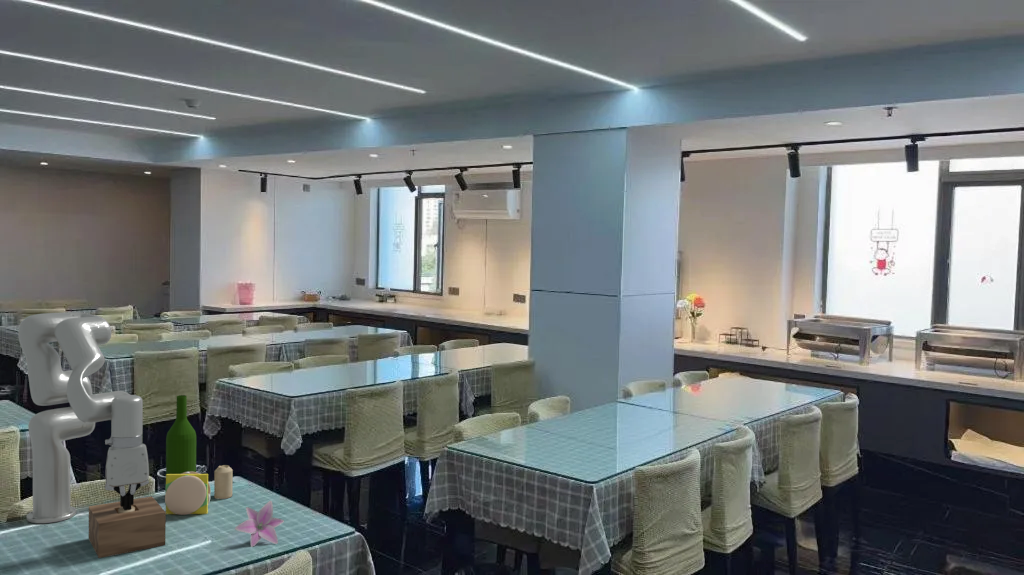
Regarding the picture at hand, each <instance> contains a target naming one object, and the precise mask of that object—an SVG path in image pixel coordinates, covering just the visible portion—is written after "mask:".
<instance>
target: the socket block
mask: <svg viewBox="0 0 1024 575" xmlns="http://www.w3.org/2000/svg"><path fill="white" fill-rule="evenodd" d="M131 506H133V507H135V511H132V512H126V513H120V514H118V509H119V508H121V506H120V501H114V502H107V503H103V504H102V503H101V504H95V505H89V506H88V540H89V542H90V544H91V546H92V548H93V550H94V552H95V554H96V556H97V558H98V559H101V558H106V557H112V556H118V555H122V553H123V554H128V553H133V552H136V551H137V550H138V551H142V549H143V550H147V549H152V548H157V547H162V546H166V522H167V520H166V519H167V518H166V516H167V514H166V510H164V509H163V507H162V506H161V505H160V504H159V503H158V501H157V500H156V499H155V498H154V497H153V496H146V497H145V496H144V497H140V498H134V504H133V505H131Z"/></svg>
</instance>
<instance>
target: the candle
mask: <svg viewBox="0 0 1024 575" xmlns="http://www.w3.org/2000/svg"><path fill="white" fill-rule="evenodd" d="M233 471H234V470H233V469H232V467H230V465H228V464H223V465H219V466H218V467H217V468H216V469H215V470H214V472H213V473H214V475H213V476H214V485H213V487H214V488H213V489H214V492H213V494H214V499H217V500H225V499H230V498H232V497H233V486H234V485H233Z"/></svg>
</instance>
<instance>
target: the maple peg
mask: <svg viewBox="0 0 1024 575" xmlns="http://www.w3.org/2000/svg"><path fill="white" fill-rule="evenodd" d="M132 511H135V507H133V506H131V509H130V510H129V509H127V510H124V509H123V507H121V508H119V509H118V514H120V513H126V512H132Z"/></svg>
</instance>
